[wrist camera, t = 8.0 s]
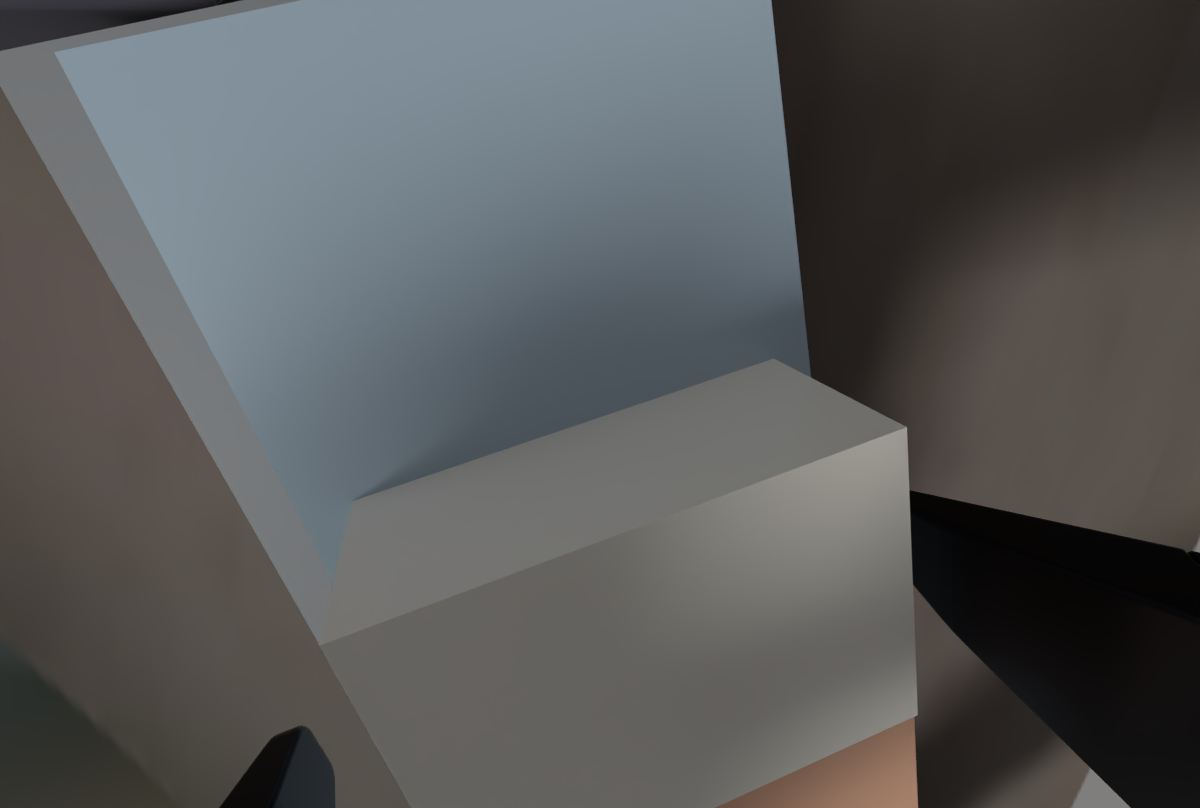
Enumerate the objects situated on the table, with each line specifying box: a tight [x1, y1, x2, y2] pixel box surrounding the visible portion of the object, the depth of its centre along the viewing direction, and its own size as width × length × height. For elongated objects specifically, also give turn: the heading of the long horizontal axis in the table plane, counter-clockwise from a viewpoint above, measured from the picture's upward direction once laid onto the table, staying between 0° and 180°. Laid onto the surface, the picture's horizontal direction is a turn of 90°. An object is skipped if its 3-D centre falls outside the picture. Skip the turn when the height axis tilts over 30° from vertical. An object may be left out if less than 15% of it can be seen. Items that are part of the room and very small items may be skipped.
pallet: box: [54, 0, 811, 582], centre depth 10 cm, size 16×6×4 cm, turn 14°
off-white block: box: [319, 359, 918, 808], centre depth 7 cm, size 4×5×2 cm
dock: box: [0, 0, 333, 643], centre depth 13 cm, size 18×10×4 cm, turn 14°
